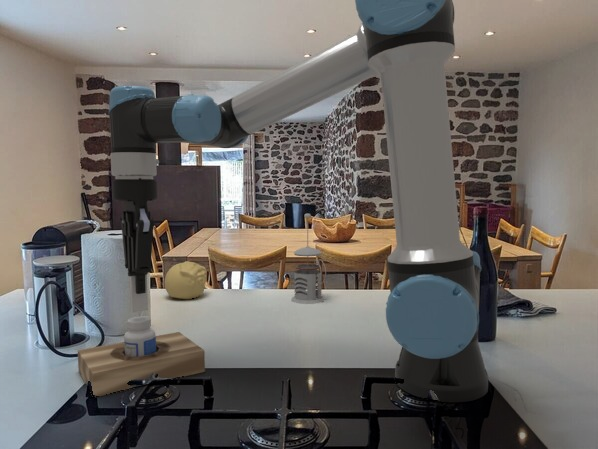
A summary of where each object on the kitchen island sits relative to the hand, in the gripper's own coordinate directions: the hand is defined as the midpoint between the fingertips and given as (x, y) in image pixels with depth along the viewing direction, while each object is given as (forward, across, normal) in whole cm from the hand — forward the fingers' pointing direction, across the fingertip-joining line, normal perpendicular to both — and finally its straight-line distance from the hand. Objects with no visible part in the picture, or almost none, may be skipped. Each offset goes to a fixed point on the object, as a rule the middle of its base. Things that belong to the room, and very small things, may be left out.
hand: (139, 310), depth 88 cm
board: (+11, 0, 0) cm, 11 cm away
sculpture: (+12, +50, -28) cm, 58 cm away
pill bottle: (+12, 0, 0) cm, 12 cm away
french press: (+12, +26, -56) cm, 62 cm away
